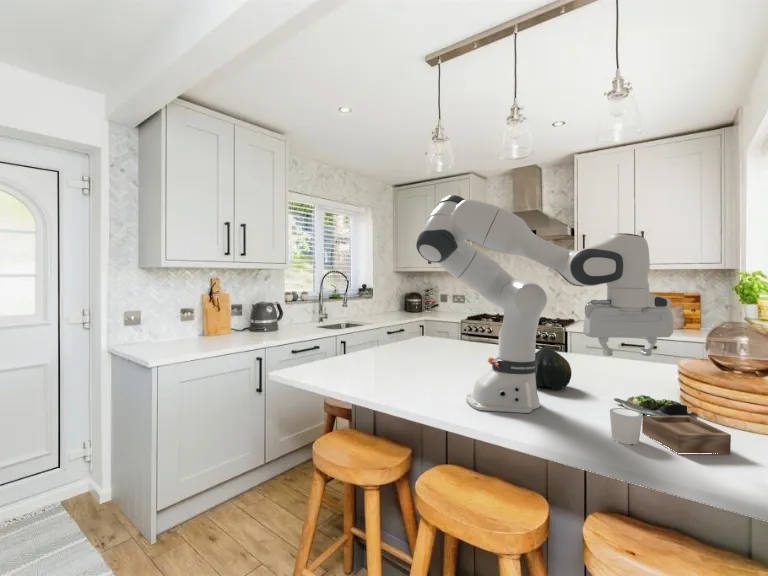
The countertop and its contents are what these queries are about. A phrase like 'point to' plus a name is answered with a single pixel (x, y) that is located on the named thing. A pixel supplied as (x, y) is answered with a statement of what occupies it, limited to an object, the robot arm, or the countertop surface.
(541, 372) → the squash
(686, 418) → the walnut stand
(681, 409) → the salad plate
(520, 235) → the robot arm
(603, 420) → the countertop surface
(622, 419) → the shot glass
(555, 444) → the countertop surface
